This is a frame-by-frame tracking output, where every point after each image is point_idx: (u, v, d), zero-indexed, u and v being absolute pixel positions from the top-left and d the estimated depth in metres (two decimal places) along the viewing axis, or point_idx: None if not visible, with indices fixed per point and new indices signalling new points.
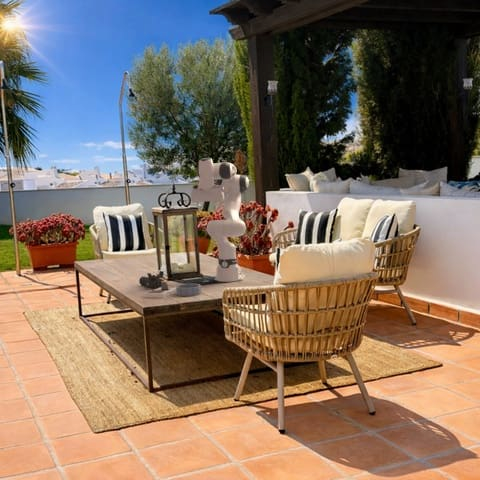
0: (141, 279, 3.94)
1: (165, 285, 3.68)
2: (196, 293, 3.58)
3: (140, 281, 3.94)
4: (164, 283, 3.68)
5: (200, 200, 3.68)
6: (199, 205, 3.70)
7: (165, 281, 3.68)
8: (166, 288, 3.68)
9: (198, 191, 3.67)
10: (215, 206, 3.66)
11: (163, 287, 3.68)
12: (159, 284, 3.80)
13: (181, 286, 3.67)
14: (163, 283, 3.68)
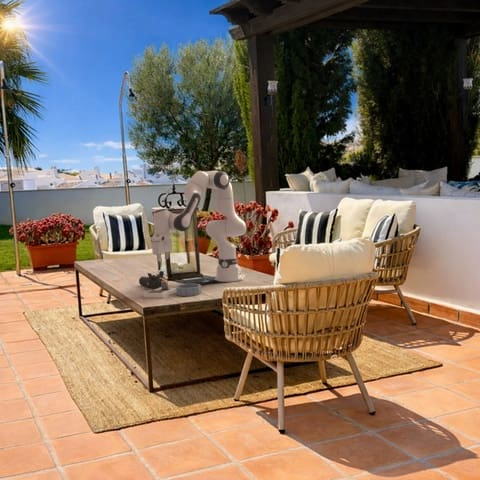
0: (141, 279, 3.94)
1: (165, 285, 3.68)
2: (196, 293, 3.58)
3: (140, 281, 3.94)
4: (164, 283, 3.68)
5: (162, 252, 3.63)
6: None
7: (165, 281, 3.68)
8: (166, 288, 3.68)
9: (162, 243, 3.62)
10: None
11: (163, 287, 3.68)
12: (159, 284, 3.80)
13: (181, 286, 3.67)
14: (163, 283, 3.68)
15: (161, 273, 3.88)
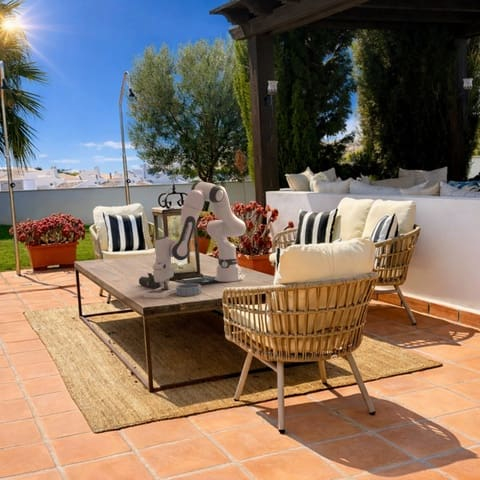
0: (141, 279, 3.94)
1: (165, 285, 3.68)
2: (196, 293, 3.58)
3: (140, 281, 3.94)
4: (164, 283, 3.68)
5: (164, 279, 3.65)
6: None
7: (165, 281, 3.68)
8: (166, 288, 3.68)
9: (163, 270, 3.64)
10: None
11: None
12: None
13: (181, 286, 3.67)
14: None
15: None
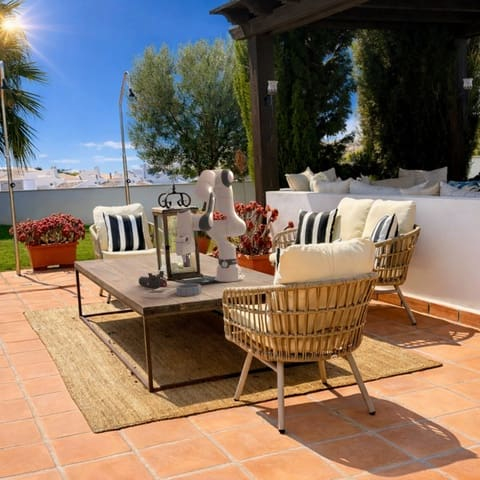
0: (141, 279, 3.94)
1: (187, 259, 3.60)
2: (196, 293, 3.58)
3: (139, 281, 3.94)
4: (186, 257, 3.59)
5: (186, 253, 3.57)
6: None
7: (187, 255, 3.60)
8: (188, 262, 3.60)
9: (186, 244, 3.55)
10: None
11: None
12: (160, 284, 3.81)
13: (181, 286, 3.67)
14: None
15: (161, 273, 3.89)
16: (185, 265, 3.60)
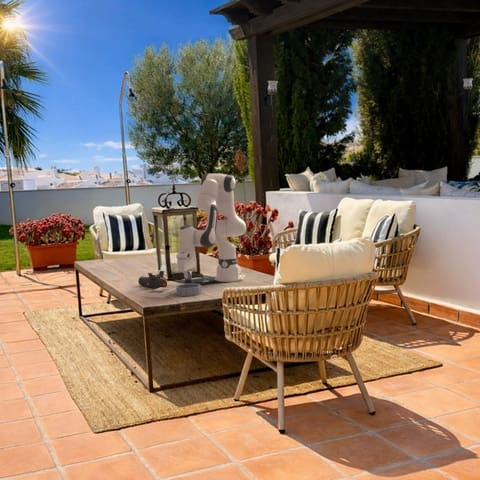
0: (140, 279, 3.94)
1: (189, 275, 3.60)
2: (196, 293, 3.58)
3: (139, 281, 3.94)
4: (188, 273, 3.60)
5: (187, 269, 3.57)
6: (186, 274, 3.59)
7: (189, 271, 3.61)
8: (190, 278, 3.61)
9: (187, 260, 3.56)
10: (191, 273, 3.64)
11: None
12: (160, 284, 3.81)
13: (181, 286, 3.67)
14: (187, 273, 3.60)
15: (161, 273, 3.89)
16: (187, 281, 3.60)
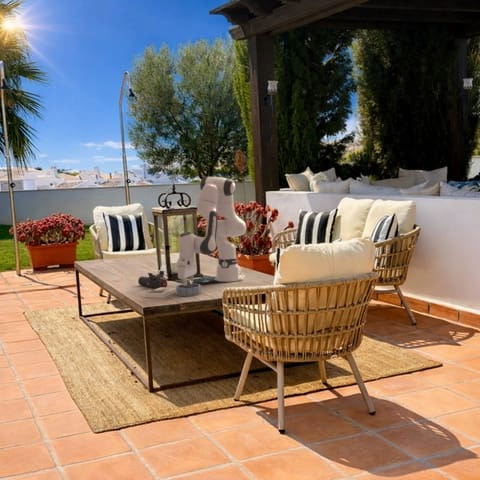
0: (140, 279, 3.94)
1: (189, 285, 3.61)
2: (196, 293, 3.58)
3: (139, 281, 3.94)
4: (188, 283, 3.61)
5: (188, 276, 3.58)
6: (185, 281, 3.58)
7: (189, 281, 3.62)
8: None
9: (187, 267, 3.57)
10: (192, 280, 3.67)
11: (187, 287, 3.61)
12: (161, 284, 3.81)
13: (181, 286, 3.67)
14: (187, 283, 3.61)
15: (161, 273, 3.89)
16: None
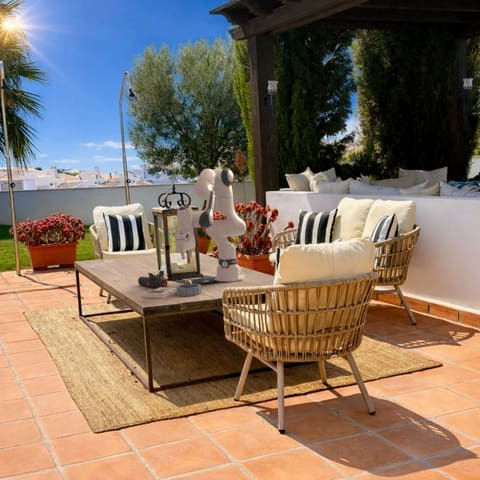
0: (140, 279, 3.94)
1: (189, 285, 3.61)
2: (196, 293, 3.58)
3: (139, 281, 3.94)
4: (188, 283, 3.61)
5: (186, 249, 3.56)
6: None
7: (189, 281, 3.62)
8: None
9: (186, 240, 3.55)
10: (191, 254, 3.65)
11: (187, 287, 3.61)
12: (161, 283, 3.81)
13: (181, 286, 3.67)
14: (187, 283, 3.61)
15: (161, 273, 3.89)
16: None
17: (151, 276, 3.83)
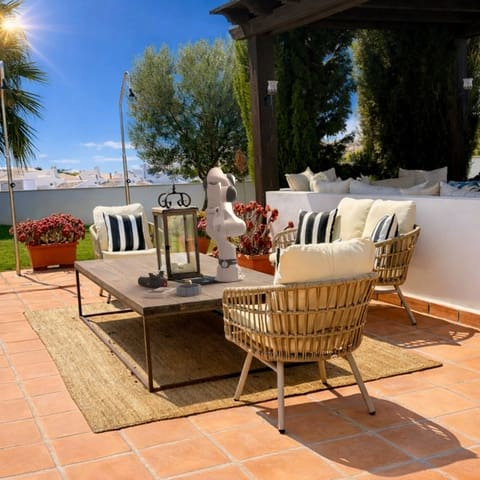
0: (140, 279, 3.94)
1: (189, 285, 3.61)
2: (196, 293, 3.58)
3: (139, 281, 3.94)
4: (188, 283, 3.61)
5: (216, 224, 3.63)
6: None
7: (189, 281, 3.62)
8: None
9: (216, 215, 3.61)
10: (220, 229, 3.72)
11: (187, 287, 3.61)
12: (161, 283, 3.82)
13: (181, 286, 3.67)
14: (187, 283, 3.61)
15: (161, 273, 3.90)
16: None
17: (151, 276, 3.83)
